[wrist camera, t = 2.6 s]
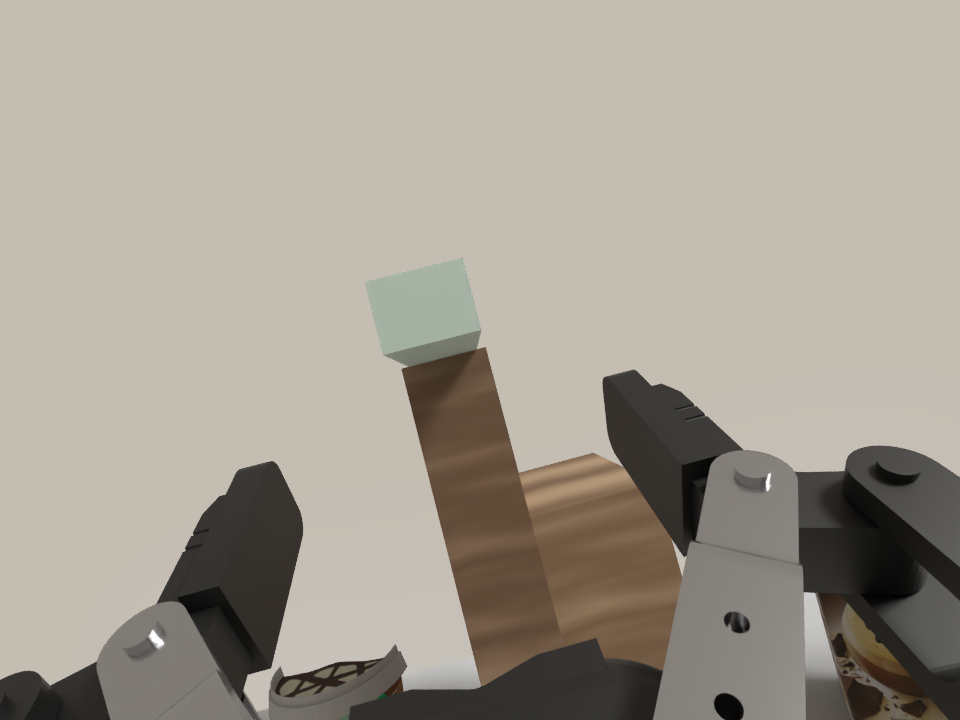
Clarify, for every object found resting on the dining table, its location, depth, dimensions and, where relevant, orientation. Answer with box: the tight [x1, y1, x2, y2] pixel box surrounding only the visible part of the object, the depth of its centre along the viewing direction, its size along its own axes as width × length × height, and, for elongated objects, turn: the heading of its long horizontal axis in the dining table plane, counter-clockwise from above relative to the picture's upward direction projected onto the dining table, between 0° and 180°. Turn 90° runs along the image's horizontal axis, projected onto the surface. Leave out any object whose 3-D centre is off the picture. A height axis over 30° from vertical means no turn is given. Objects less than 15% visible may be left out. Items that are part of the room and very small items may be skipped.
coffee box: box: [815, 593, 948, 720], centre depth 35 cm, size 9×6×16 cm
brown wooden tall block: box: [402, 347, 682, 687], centre depth 35 cm, size 14×12×32 cm
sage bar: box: [365, 258, 481, 367], centre depth 32 cm, size 24×4×3 cm, turn 2°
